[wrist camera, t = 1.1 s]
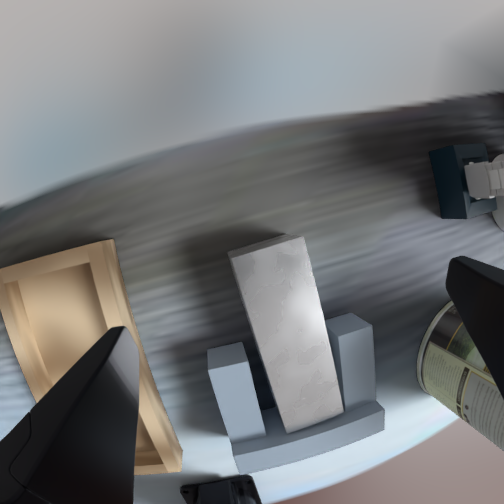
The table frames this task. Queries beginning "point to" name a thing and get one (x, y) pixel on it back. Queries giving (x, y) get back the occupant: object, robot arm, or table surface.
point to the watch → (466, 180)
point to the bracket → (268, 421)
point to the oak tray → (81, 334)
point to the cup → (499, 202)
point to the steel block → (288, 329)
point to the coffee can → (460, 375)
